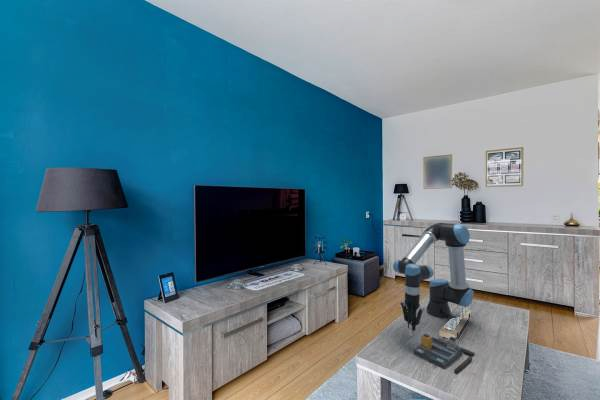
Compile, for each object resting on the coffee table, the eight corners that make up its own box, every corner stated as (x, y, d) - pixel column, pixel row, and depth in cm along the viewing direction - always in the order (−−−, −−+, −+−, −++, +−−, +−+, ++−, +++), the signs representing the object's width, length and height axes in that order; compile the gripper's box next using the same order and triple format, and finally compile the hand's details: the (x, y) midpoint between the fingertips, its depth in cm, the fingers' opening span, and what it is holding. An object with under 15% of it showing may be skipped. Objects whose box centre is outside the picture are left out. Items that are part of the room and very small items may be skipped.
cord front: (434, 338, 160) (434, 335, 160) (474, 354, 144) (474, 351, 143) (431, 339, 158) (431, 337, 158) (472, 357, 141) (472, 354, 141)
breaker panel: (431, 341, 156) (432, 326, 156) (462, 354, 144) (462, 338, 143) (413, 353, 145) (413, 337, 145) (444, 369, 132) (445, 351, 132)
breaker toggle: (424, 344, 150) (425, 332, 149) (432, 347, 146) (432, 335, 146) (420, 346, 147) (421, 334, 147) (428, 350, 144) (428, 337, 144)
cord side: (468, 359, 140) (468, 356, 140) (472, 360, 139) (472, 357, 138) (453, 372, 130) (453, 369, 130) (457, 374, 128) (457, 370, 128)
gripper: (397, 291, 156) (397, 332, 156) (419, 298, 145) (419, 342, 146) (405, 288, 160) (404, 328, 161) (427, 295, 150) (426, 338, 151)
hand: (411, 335), depth 153 cm, fingers closed
